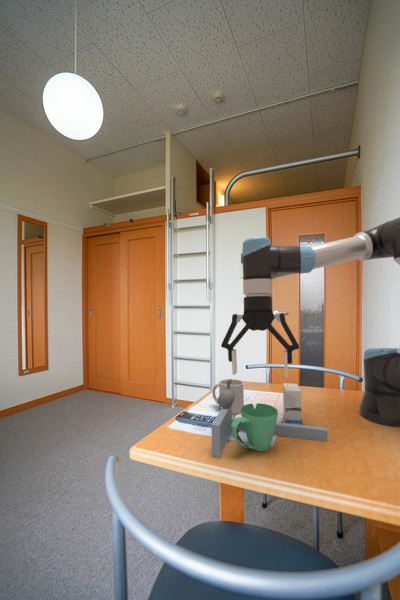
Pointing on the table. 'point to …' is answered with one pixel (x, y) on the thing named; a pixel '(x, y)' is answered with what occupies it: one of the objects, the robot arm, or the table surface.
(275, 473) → the table surface
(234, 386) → the mug
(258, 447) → the mug
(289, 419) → the ink box
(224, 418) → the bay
